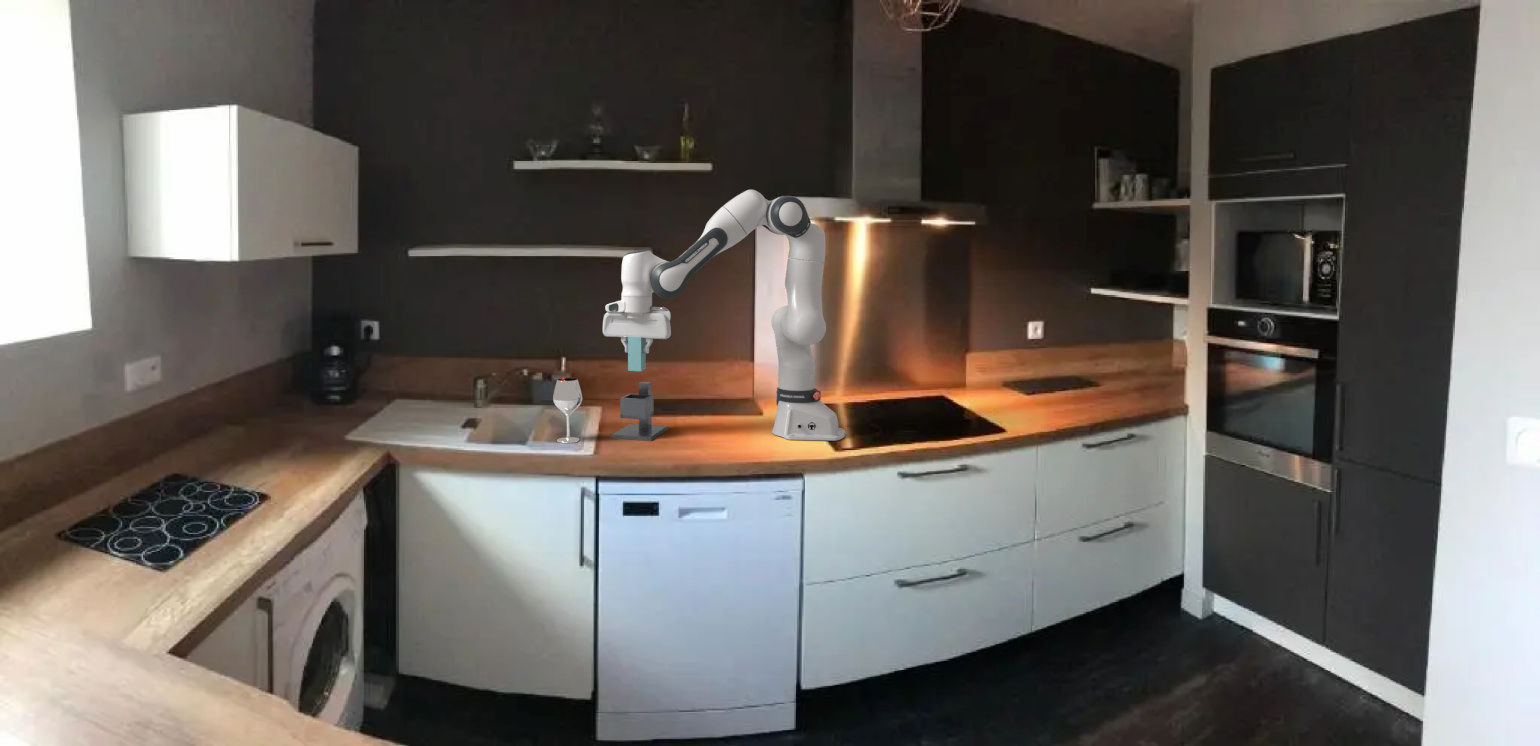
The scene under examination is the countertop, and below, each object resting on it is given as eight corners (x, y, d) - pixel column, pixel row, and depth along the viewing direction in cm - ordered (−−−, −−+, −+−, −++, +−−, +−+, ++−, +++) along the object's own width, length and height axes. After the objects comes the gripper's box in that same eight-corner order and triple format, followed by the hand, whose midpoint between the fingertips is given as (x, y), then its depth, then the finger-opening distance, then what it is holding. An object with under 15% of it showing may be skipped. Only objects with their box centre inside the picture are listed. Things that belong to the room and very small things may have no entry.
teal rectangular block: (645, 369, 256) (645, 335, 254) (641, 371, 252) (640, 337, 251) (633, 368, 257) (632, 335, 255) (628, 370, 253) (627, 336, 251)
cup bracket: (668, 429, 267) (668, 381, 265) (650, 441, 252) (650, 390, 249) (631, 426, 269) (631, 379, 267) (611, 438, 254) (611, 388, 252)
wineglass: (577, 436, 256) (576, 376, 253) (586, 441, 249) (586, 380, 246) (550, 439, 252) (548, 378, 249) (559, 445, 245) (558, 382, 242)
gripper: (674, 306, 253) (674, 353, 255) (608, 303, 257) (608, 349, 259) (667, 308, 246) (667, 355, 249) (600, 305, 250) (600, 352, 253)
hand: (636, 352), depth 254 cm, fingers closed on teal rectangular block, 4 cm apart
